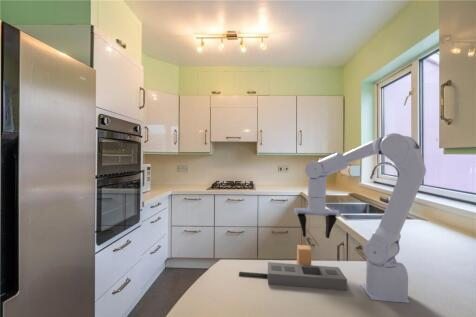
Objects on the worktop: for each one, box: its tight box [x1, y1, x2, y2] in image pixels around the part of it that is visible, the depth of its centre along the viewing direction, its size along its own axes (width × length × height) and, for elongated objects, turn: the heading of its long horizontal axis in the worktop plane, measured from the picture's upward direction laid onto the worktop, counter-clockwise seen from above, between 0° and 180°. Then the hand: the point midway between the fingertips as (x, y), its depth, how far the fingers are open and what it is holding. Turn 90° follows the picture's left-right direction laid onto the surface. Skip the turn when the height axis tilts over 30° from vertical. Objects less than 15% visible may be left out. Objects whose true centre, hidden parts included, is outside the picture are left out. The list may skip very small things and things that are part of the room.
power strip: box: [238, 261, 348, 291], centre depth 75 cm, size 31×8×3 cm, turn 84°
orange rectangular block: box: [296, 244, 312, 265], centre depth 83 cm, size 4×4×7 cm
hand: (315, 236), depth 84 cm, fingers open, 7 cm apart
